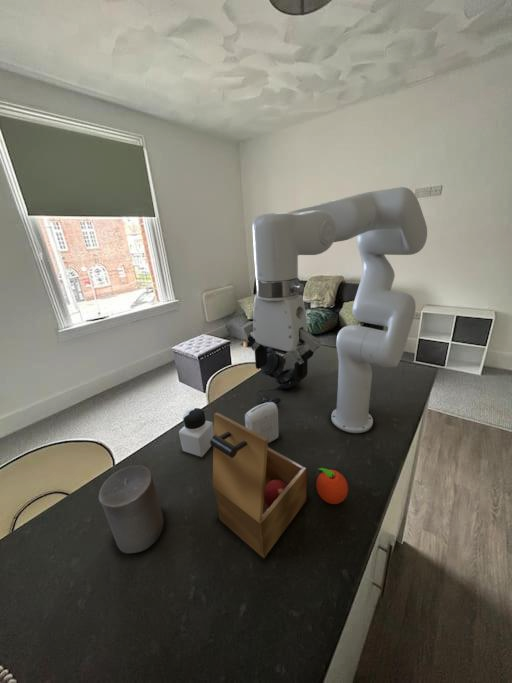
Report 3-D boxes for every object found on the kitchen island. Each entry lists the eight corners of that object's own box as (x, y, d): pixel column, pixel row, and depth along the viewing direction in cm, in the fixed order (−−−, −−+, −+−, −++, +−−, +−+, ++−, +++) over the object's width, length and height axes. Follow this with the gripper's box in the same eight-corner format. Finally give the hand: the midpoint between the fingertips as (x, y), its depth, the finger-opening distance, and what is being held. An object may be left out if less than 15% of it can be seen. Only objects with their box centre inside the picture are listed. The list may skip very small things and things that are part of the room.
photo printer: (272, 430, 87) (270, 396, 82) (281, 437, 84) (279, 402, 79) (244, 444, 82) (241, 409, 77) (252, 452, 79) (249, 416, 74)
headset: (270, 417, 107) (302, 360, 120) (292, 419, 95) (325, 356, 109) (237, 388, 101) (275, 332, 115) (257, 387, 90) (296, 325, 104)
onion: (289, 503, 63) (300, 500, 57) (266, 515, 61) (276, 514, 55) (277, 477, 66) (287, 472, 60) (256, 488, 64) (263, 484, 57)
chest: (264, 473, 72) (261, 443, 68) (306, 500, 64) (306, 468, 60) (219, 519, 61) (214, 487, 57) (264, 558, 53) (261, 523, 49)
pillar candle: (149, 502, 66) (134, 453, 61) (173, 526, 60) (159, 474, 55) (107, 535, 59) (87, 483, 54) (130, 566, 53) (110, 511, 48)
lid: (217, 412, 54) (196, 421, 50) (268, 439, 46) (248, 452, 42) (215, 484, 57) (195, 498, 54) (262, 520, 50) (243, 539, 46)
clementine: (306, 493, 66) (306, 470, 63) (325, 477, 69) (326, 455, 67) (334, 517, 60) (335, 493, 57) (353, 499, 63) (355, 475, 61)
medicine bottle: (215, 441, 84) (210, 408, 80) (202, 458, 78) (196, 423, 74) (196, 435, 87) (190, 403, 82) (182, 451, 81) (174, 417, 77)
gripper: (331, 288, 47) (328, 376, 54) (254, 282, 58) (259, 356, 64) (308, 297, 42) (307, 394, 48) (228, 288, 53) (236, 368, 59)
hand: (280, 372), depth 56 cm, fingers open, 9 cm apart
